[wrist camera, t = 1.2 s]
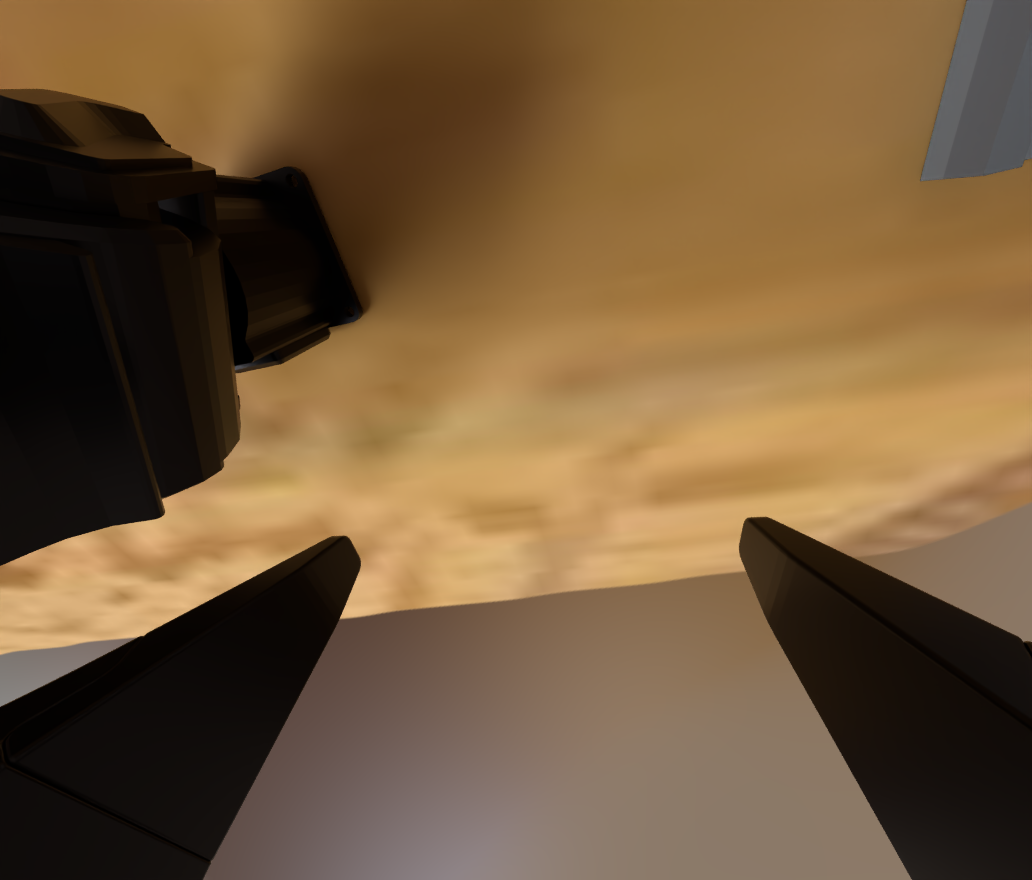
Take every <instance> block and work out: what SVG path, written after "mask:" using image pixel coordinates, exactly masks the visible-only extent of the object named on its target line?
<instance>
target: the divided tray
mask: <svg viewBox="0 0 1032 880" xmlns="http://www.w3.org/2000/svg"><path fill="white" fill-rule="evenodd" d="M1031 158H1032V0H967V2H966V6H965V10H964V13H963V17H962V21H961V25H960V29H959V33H958V37H957V40H956V44H955V48H954V52H953V56H952V60H951V64H950V68H949V71H948V75H947V79H946V83H945V87H944V91H943V95H942V98H941V102H940V106H939V110H938V114H937V118H936V122H935V125H934V129H933V133H932V137H931V141H930V145H929V149H928V152H927V156H926V160H925V164H924V168H923V172H922V176H921V179H920V181H927V180H939V179H951V178H963V177H974V176H984V175H989V174H993V173H997V172H1001V171H1006V170H1010V169H1014V168H1019V167H1022V165H1023V163H1024V160H1027V159H1031Z"/></svg>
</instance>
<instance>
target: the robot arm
mask: <svg viewBox="0 0 1032 880" xmlns="http://www.w3.org/2000/svg"><path fill="white" fill-rule="evenodd" d="M293 175H294V176H295V177H296V179H297V182H298V184H297V187H295V186H294V185H293V183H292V176H293ZM348 307H351V308H352V309H353V310H354V315H352V314H350V312H349V311H348ZM362 313H363V311H362V307H361V305H360V303H359V300H358V298H357V295H356V293H355V291H354V288H353V286H352V284H351V281H350V279H349V276H348V274H347V272H346V269H345V267H344V265H343V262H342V260H341V257H340V255H339V253H338V250H337V248H336V246H335V243H334V241H333V238H332V236H331V234H330V231H329V229H328V226H327V224H326V222H325V219H324V217H323V215H322V212H321V210H320V207H319V205H318V203H317V200H316V198H315V196H314V193H313V191H312V188H311V186H310V184H309V181H308V179H307V177H306V175H305V174H304V173H303V172H302V171H301V170H300V169H298V168H295V167H284V168H281V169H278V170H275V171H272V172H269V173H266V174H263V175H260V176H257V177H255V178H243V177H234V176H225V175H216V171H215V169H214V168H212V167H209V166H207V165H204V164H201V163H198V162H196V161H193V160H192V157H190V156H189V155H186V154H184V153H181V152H179V151H177V150H174V149H172V148H171V145H170V144H168V143H165V141H164V140H163V139H162V138H161V136H160V135H159V134H158V132H157V131H156V130H155V128H154V127H153V126H152V124H151V123H150V122H149V120H148V119H147V118H146V117H145V115H144V114H141V113H139V112H136V111H133V110H130V109H128V108H125V107H122V106H118V105H114V104H110V103H106V102H101V101H97V100H93V99H89V98H85V97H80V96H76V95H71V94H67V93H62V92H57V91H51V90H45V89H0V566H1V565H3V564H6V563H8V562H10V561H13V560H15V559H17V558H20V557H22V556H24V555H27V554H29V553H31V552H34V551H36V550H39V549H41V548H44V547H46V546H49V545H52V544H54V543H57V542H59V541H62V540H64V539H67V538H71V537H74V536H78V535H82V534H85V533H89V532H92V531H96V530H99V529H103V528H106V527H110V526H115V525H121V524H128V523H134V522H141V521H147V520H153V519H158V518H160V517H162V516H163V515H164V514H165V509H164V506H163V502H162V499H164V498H167V497H169V496H171V495H174V494H176V493H178V492H181V491H183V490H185V489H188V488H190V487H192V486H195V485H197V484H199V483H202V482H204V481H205V480H207V479H208V478H210V477H211V476H213V475H215V474H216V473H218V472H219V471H221V470H222V469H223V467H224V459H225V458H226V457H227V456H228V455H229V454H230V452H231V451H232V449H233V448H234V447H235V445H236V444H237V443H238V441H239V440H240V428H241V421H240V412H239V410H240V399H239V396H238V393H237V384H236V375H235V373H242V372H246V371H251V370H256V369H260V368H265V367H270V366H274V365H279V364H282V363H284V362H286V361H288V360H290V359H292V358H294V357H295V356H297V355H299V354H301V353H303V352H305V351H306V350H308V349H310V348H312V347H314V346H316V345H318V344H319V343H321V342H323V341H325V340H327V339H329V336H330V334H331V333H330V331H329V329H328V328H329V327H334V326H338V325H342V324H347V323H351V322H354V321H356V320H358V319H360V318H361V317H362ZM739 553H740V557H741V560H742V563H743V565H744V567H745V570H746V572H747V574H748V577H749V579H750V582H751V584H752V586H753V589H754V591H755V593H756V596H757V598H758V601H759V603H760V605H761V608H762V610H763V613H764V615H765V617H766V619H767V621H768V623H769V625H770V627H771V629H772V631H773V633H774V635H775V637H776V638H777V640H778V642H779V644H780V645H781V647H782V649H783V651H784V653H785V654H786V656H787V658H788V660H789V661H790V663H791V665H792V667H793V669H794V670H795V672H796V674H797V675H798V677H799V679H800V681H801V683H802V685H803V686H804V688H805V690H806V692H807V694H808V695H809V697H810V699H811V701H812V703H813V704H814V706H815V708H816V710H817V711H818V713H819V715H820V717H821V719H822V720H823V722H824V724H825V726H826V727H827V729H828V731H829V733H830V735H831V736H832V738H833V740H834V742H835V743H836V745H837V747H838V749H839V751H840V752H841V754H842V756H843V758H844V759H845V761H846V763H847V765H848V767H849V768H850V770H851V772H852V774H853V776H854V777H855V779H856V781H857V783H858V784H859V786H860V788H861V790H862V791H863V793H864V795H865V797H866V799H867V801H868V802H869V804H870V806H871V808H872V809H873V811H874V813H875V815H876V816H877V818H878V820H879V822H880V824H881V825H882V827H883V829H884V831H885V832H886V834H887V836H888V838H889V840H890V841H891V843H892V845H893V847H894V848H895V850H896V852H897V854H898V856H899V858H900V859H901V861H902V863H903V865H904V866H905V868H906V870H907V872H908V873H909V875H910V877H911V879H912V880H1032V642H1029V641H1025V642H1023V641H1022V639H1021V638H1019V637H1018V636H1016V635H1014V634H1012V633H1010V632H1007V631H1005V630H1003V629H1001V628H999V627H997V626H994V625H993V624H991V623H988V622H987V621H984V620H982V619H980V618H978V617H976V616H974V615H972V614H970V613H968V612H965V611H963V610H961V609H959V608H957V607H955V606H953V605H951V604H949V603H947V602H945V601H943V600H941V599H938V598H936V597H934V596H932V595H930V594H928V593H926V592H924V591H921V590H920V589H917V588H915V587H913V586H911V585H909V584H907V583H905V582H903V581H901V580H899V579H897V578H894V577H892V576H890V575H888V574H886V573H884V572H882V571H879V570H878V569H875V568H874V567H871V566H869V565H867V564H865V563H863V562H861V561H859V560H857V559H855V558H853V557H851V556H848V555H846V554H844V553H842V552H840V551H838V550H836V549H834V548H832V547H830V546H828V545H825V544H823V543H821V542H819V541H817V540H815V539H813V538H811V537H809V536H807V535H804V534H802V533H800V532H798V531H796V530H794V529H792V528H790V527H788V526H786V525H784V524H781V523H779V522H777V521H775V520H773V519H771V518H768V517H749V518H747V519H745V521H744V524H743V528H742V533H741V538H740V543H739ZM360 567H361V560H360V557H359V555H358V553H357V551H356V549H355V547H354V546H353V544H352V542H351V540H350V538H348V537H347V536H332V537H329V538H327V539H325V540H323V541H321V542H319V543H317V544H315V545H314V546H312V547H310V548H308V549H306V550H304V551H302V552H300V553H298V554H296V555H295V556H293V557H291V558H289V559H287V560H285V561H283V562H281V563H279V564H277V565H276V566H274V567H272V568H270V569H268V570H266V571H264V572H262V573H260V574H258V575H257V576H255V577H253V578H251V579H249V580H247V581H245V582H243V583H241V584H239V585H238V586H236V587H234V588H232V589H230V590H228V591H226V592H224V593H222V594H220V595H219V596H217V597H215V598H213V599H211V600H209V601H207V602H205V603H203V604H201V605H200V606H198V607H196V608H194V609H192V610H190V611H188V612H186V613H184V614H182V615H181V616H179V617H177V618H175V619H173V620H171V621H169V622H167V623H165V624H163V625H162V626H160V627H158V628H156V629H154V630H152V631H150V632H148V633H147V634H146V635H145V636H140V637H137V638H136V639H134V640H132V641H130V642H128V643H126V644H124V645H122V646H120V647H119V648H117V649H115V650H113V651H111V652H109V653H107V654H105V655H103V656H101V657H99V658H97V659H95V660H93V661H91V662H89V663H87V664H85V665H84V666H82V667H80V668H78V669H76V670H74V671H72V672H70V673H68V674H66V675H64V676H62V677H60V678H58V679H56V680H54V681H52V682H50V683H48V684H46V685H44V686H42V687H40V688H38V689H36V690H34V691H32V692H30V693H28V694H26V695H23V696H22V697H20V698H17V699H15V700H13V701H11V702H9V703H7V704H5V705H3V706H1V707H0V880H203V879H204V877H205V874H206V872H207V870H208V868H209V866H210V864H211V861H212V860H213V859H214V857H215V855H216V853H217V851H218V849H219V847H220V845H221V844H222V842H223V840H224V838H225V836H226V834H227V832H228V830H229V828H230V826H231V825H232V823H233V821H234V819H235V817H236V815H237V813H238V811H239V809H240V808H241V806H242V804H243V802H244V800H245V798H246V796H247V794H248V792H249V791H250V789H251V787H252V785H253V783H254V781H255V779H256V777H257V775H258V774H259V772H260V770H261V768H262V766H263V764H264V762H265V760H266V758H267V756H268V755H269V753H270V751H271V749H272V747H273V745H274V743H275V741H276V739H277V737H278V736H279V734H280V732H281V730H282V728H283V726H284V724H285V722H286V721H287V719H288V717H289V714H290V713H291V711H292V709H293V707H294V705H295V703H296V702H297V700H298V698H299V696H300V694H301V692H302V690H303V688H304V686H305V685H306V683H307V681H308V679H309V677H310V675H311V673H312V671H313V669H314V667H315V666H316V664H317V662H318V660H319V658H320V656H321V654H322V652H323V651H324V648H325V647H326V645H327V643H328V641H329V639H330V637H331V635H332V634H333V632H334V630H335V628H336V625H337V623H338V621H339V619H340V617H341V615H342V612H343V610H344V607H345V605H346V602H347V600H348V598H349V595H350V593H351V590H352V588H353V585H354V583H355V581H356V578H357V576H358V573H359V571H360Z"/></svg>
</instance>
